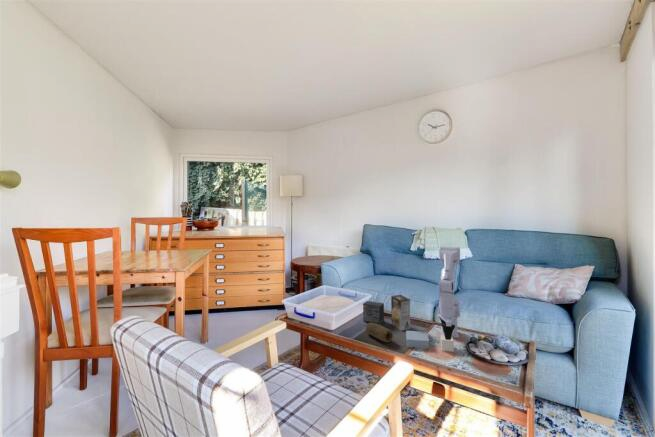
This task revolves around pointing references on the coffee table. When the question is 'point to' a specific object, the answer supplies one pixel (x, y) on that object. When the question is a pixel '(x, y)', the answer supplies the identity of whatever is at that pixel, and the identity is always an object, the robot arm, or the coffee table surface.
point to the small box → (373, 312)
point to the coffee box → (400, 312)
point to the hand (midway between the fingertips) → (446, 335)
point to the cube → (447, 344)
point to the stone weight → (379, 332)
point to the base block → (417, 339)
